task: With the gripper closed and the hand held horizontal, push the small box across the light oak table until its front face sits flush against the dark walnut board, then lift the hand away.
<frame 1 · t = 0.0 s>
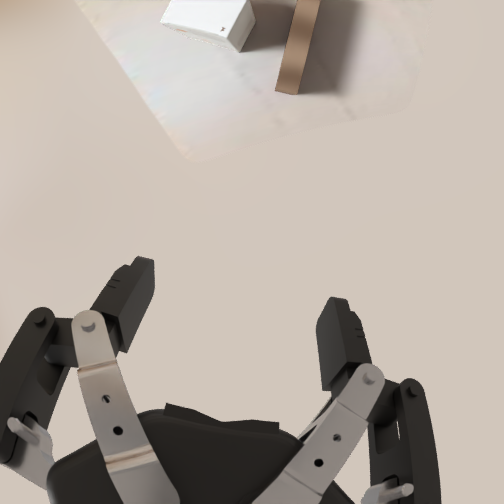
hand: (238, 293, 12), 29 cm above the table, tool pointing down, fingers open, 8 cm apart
small box: (221, 29, 27), on the table
walnut board: (296, 41, 27), on the table
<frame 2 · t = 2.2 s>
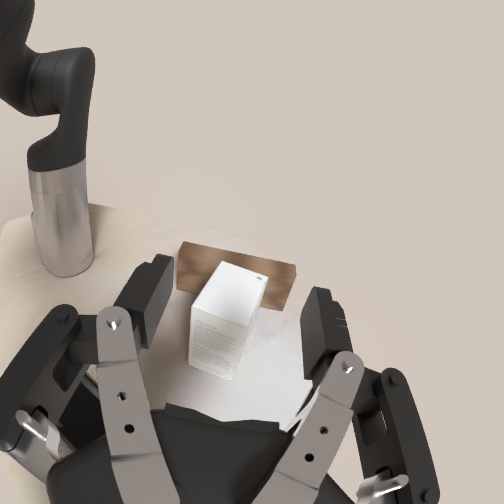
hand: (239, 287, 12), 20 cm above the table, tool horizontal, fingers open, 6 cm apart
small box: (220, 350, 32), on the table
phone: (71, 404, 21), on the table
walnut board: (230, 295, 41), on the table
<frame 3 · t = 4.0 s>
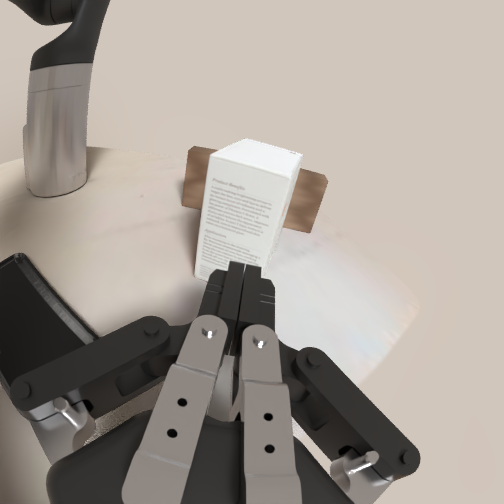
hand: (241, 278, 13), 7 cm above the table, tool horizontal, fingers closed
small box: (237, 265, 25), on the table
phone: (21, 327, 14), on the table
walnut board: (247, 214, 34), on the table
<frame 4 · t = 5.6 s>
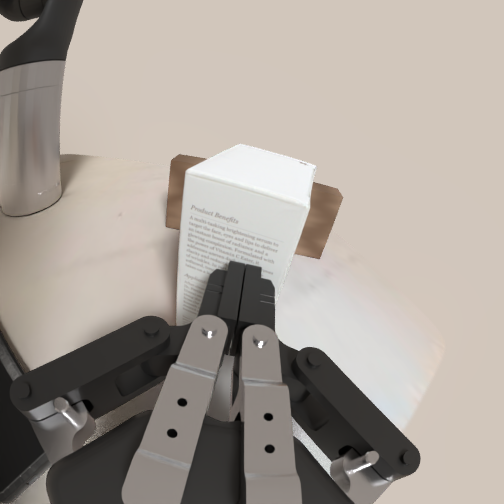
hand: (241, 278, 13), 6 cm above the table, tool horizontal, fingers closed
small box: (231, 307, 20), on the table, touching gripper
walnut board: (244, 236, 28), on the table
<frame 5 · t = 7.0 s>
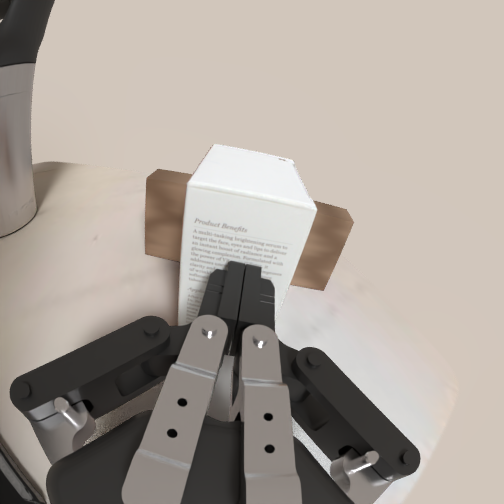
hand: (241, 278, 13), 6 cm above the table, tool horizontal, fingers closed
small box: (223, 309, 20), on the table, touching gripper
walnut board: (236, 265, 24), on the table
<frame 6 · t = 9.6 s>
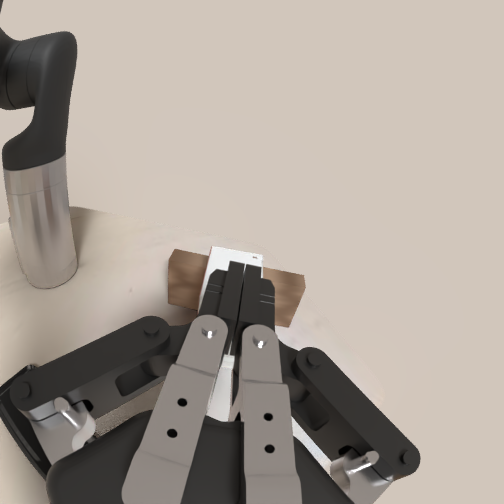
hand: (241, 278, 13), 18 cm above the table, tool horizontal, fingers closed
small box: (220, 342, 31), on the table
phone: (49, 435, 15), on the table
walnut board: (229, 310, 35), on the table
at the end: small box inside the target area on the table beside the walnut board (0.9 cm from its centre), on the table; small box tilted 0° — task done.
